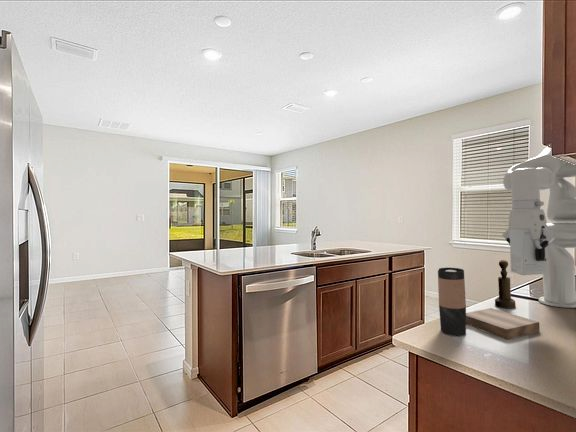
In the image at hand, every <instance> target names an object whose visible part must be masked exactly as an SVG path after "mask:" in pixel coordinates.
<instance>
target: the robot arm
mask: <svg viewBox="0 0 576 432" xmlns="http://www.w3.org/2000/svg"><path fill="white" fill-rule="evenodd" d="M575 177H576V165H573V164H571V163H568V162H566V161H563V160H560V159H558V158H554V157H552V156H551V150H550V148H548V146H547V147H545V148H544V149H543V150H542V151H541V152H539V154H537V156H535V157H533V158H530V159H528V160H525V161H523V162H520V163H517V164H515V165H513V166H512V167H510V168H509V169H508V170H507V171H506V173H505V174H504V176H503V180H502V184H503V187H504V189H505V190H507V191H509V192H511V193H510V195H511V210H510V211H509V217H508V225H507V226H508V227H507V228H508V229H507V230H505V232H504V233H502V237H503V238H504V239H505V240H506V242H507V243H508V244H509V246H510V229H525V230H529V233H530V239H531V240H533V241H534V243H535V244H536V246H537V249H535V256H536V261H543V260H544V259H545V248H546V265H547V274H542V283H543V286H542V289H543V296H540V297H539V298H538V302H539V303H541V304H543V305H546V306H551V307H557V308H566V309H575V308H576V276H575V275H576V274H575V258H574V257H573V255H572V254H571V253H570V252H569V251H568V250H567V249H576V186H575V185H574V184H573V183H571V182H570V181H568V180H566V179H565V178H575ZM548 189H549V196H548V197H549V198H548V202H547V203H548V204H547V208H546V213H545V210H544V209H543V208H541V206H544V205H545V202H544V201H541V194H540V193H541V191H545V190H548ZM547 219H548V221H550V222H547ZM541 233H542V237H541ZM543 235H545V237H543ZM543 238H544V239H546V240H545V241H544V240H543Z"/></svg>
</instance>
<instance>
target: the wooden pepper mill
mask: <svg viewBox="0 0 576 432" xmlns="http://www.w3.org/2000/svg"><path fill="white" fill-rule="evenodd" d="M498 266H499V268H501V270H500V271H499V272H500V276H498V278H497V281H498V282H497V283H498V297H497V298H495V299H494V305H495V306H496V307H498V308H502V309H514V308H516V306H517V304H516V301H515V300H514V299H513V298H512V293H511V292H512V291H511V278H510V277H507V276H508V271H507V268H508V267H509V262H508V261H507V260H506V259H505V260H504V259H501V260H499V262H498Z"/></svg>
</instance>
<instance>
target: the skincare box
mask: <svg viewBox="0 0 576 432" xmlns="http://www.w3.org/2000/svg"><path fill="white" fill-rule="evenodd" d="M541 237H542V233H541ZM543 237H545V235H543ZM543 240H544V241H545V240H546V239H544V238H543ZM535 249H537V246H536V244H535V243H534V241H533V240H531V239H530V233H529V230H525V229H510V245H509V251H510V254H509V255H510V256H509V257H510V259H509V260H510V272H511V273H513V274H518V275H520V276H534V275H537V276H538V275H543V274H547V265H546V248H545V259H544V260H543V261H536V256H535Z"/></svg>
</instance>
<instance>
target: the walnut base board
mask: <svg viewBox="0 0 576 432" xmlns="http://www.w3.org/2000/svg"><path fill="white" fill-rule="evenodd" d="M466 326H470V327H472V328H475V329H477V330H481V331H483V332H486V333H489V334H491V335H493V336H497V337H500V338H502V339H505V340H511V339H515V338H520V337H523V336H524V337H525V336H527V335H528V336H529V335H532V334H536V333H539V332H540V321H537V320H533V319H530V318H527V317H523V316H519V315H518V314H512V313H510V312H506V311H502V310H499V309H495V308H492V307H490V308H489V307H488V308H485V309H479V310H474V311H469V312H466Z"/></svg>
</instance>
